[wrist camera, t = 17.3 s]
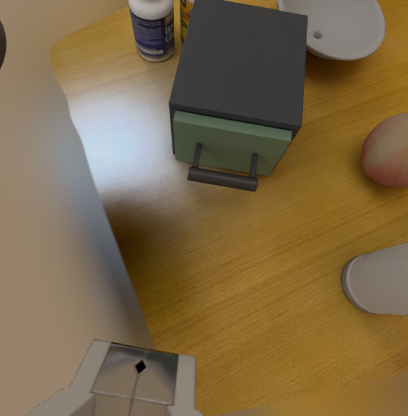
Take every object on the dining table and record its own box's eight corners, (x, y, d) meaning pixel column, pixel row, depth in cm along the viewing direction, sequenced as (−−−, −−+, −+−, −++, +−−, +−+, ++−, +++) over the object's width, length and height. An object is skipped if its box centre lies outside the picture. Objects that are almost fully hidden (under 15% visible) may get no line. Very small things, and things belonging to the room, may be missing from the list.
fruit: (336, 167, 36) (375, 131, 29) (369, 129, 39) (414, 87, 31) (389, 209, 35) (445, 182, 27) (420, 167, 37) (479, 132, 30)
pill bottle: (174, 64, 40) (171, -8, 31) (135, 62, 40) (120, -11, 31) (175, 35, 42) (173, -41, 33) (138, 33, 42) (125, -45, 32)
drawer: (265, 209, 33) (288, 181, 26) (168, 191, 33) (163, 159, 26) (277, 87, 39) (298, 37, 31) (194, 73, 39) (197, 18, 31)
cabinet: (272, 171, 36) (301, 126, 27) (172, 154, 36) (168, 102, 27) (280, 80, 40) (308, 15, 31) (193, 64, 40) (195, -6, 31)
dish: (254, 4, 45) (262, -31, 40) (336, -5, 47) (353, -40, 42) (290, 94, 40) (304, 66, 35) (381, 80, 42) (406, 51, 37)
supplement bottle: (173, 38, 42) (169, -43, 32) (203, 22, 43) (208, -60, 33) (196, 62, 41) (199, -14, 31) (226, 45, 42) (238, -32, 32)
